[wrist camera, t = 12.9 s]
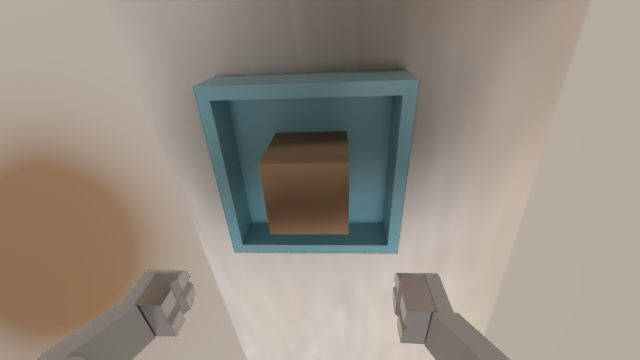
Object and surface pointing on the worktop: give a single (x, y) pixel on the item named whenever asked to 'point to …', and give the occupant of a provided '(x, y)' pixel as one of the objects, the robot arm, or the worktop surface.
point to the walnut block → (307, 183)
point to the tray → (312, 116)
